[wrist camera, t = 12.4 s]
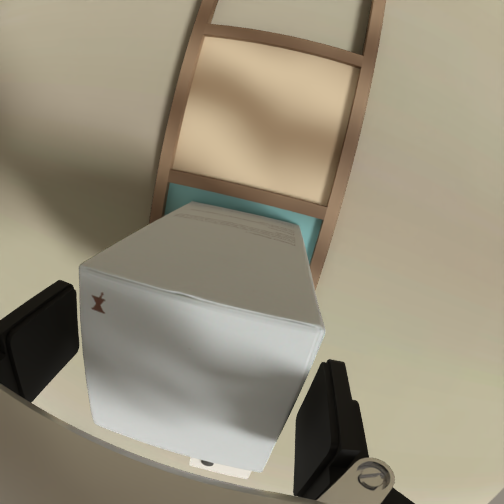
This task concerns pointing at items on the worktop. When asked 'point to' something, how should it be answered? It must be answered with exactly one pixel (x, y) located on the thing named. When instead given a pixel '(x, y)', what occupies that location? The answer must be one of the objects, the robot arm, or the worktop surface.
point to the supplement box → (200, 333)
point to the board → (266, 126)
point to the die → (219, 468)
